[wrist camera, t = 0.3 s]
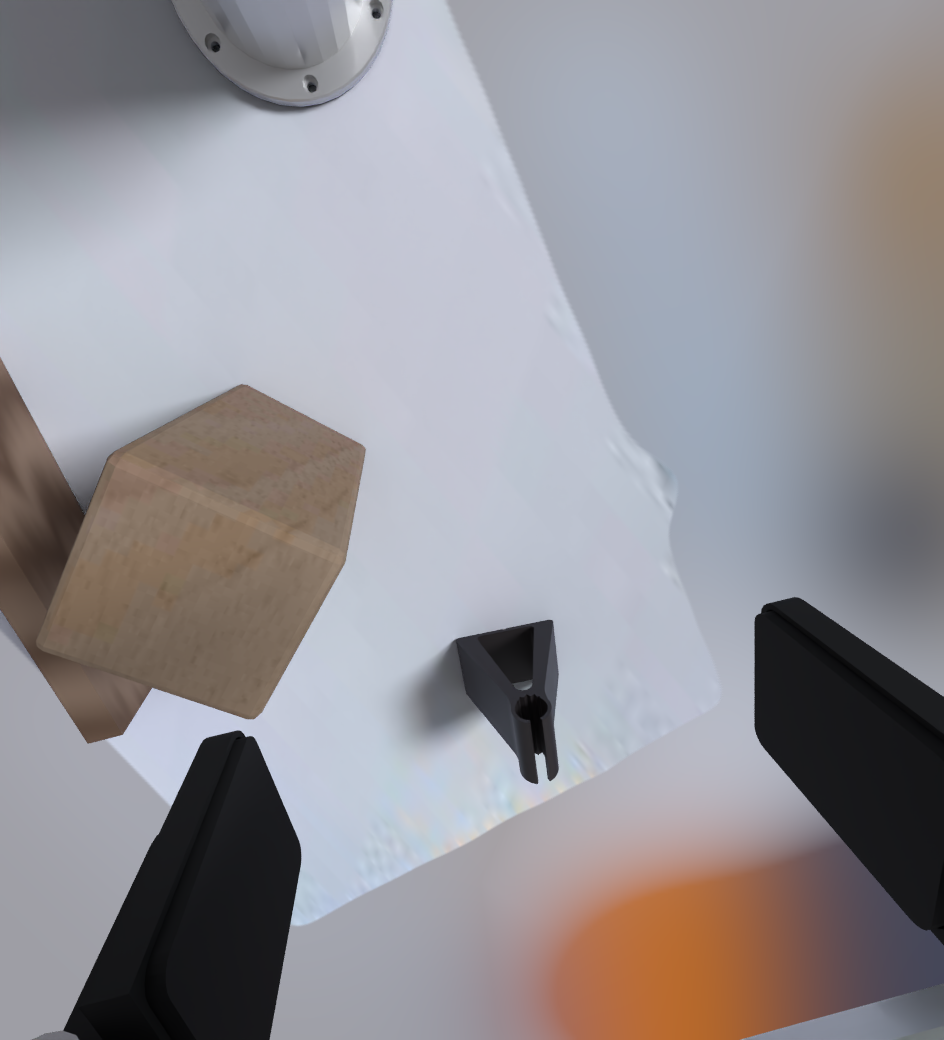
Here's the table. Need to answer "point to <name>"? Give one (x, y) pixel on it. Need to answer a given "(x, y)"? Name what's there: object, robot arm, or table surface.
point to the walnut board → (48, 568)
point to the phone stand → (509, 710)
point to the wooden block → (209, 552)
